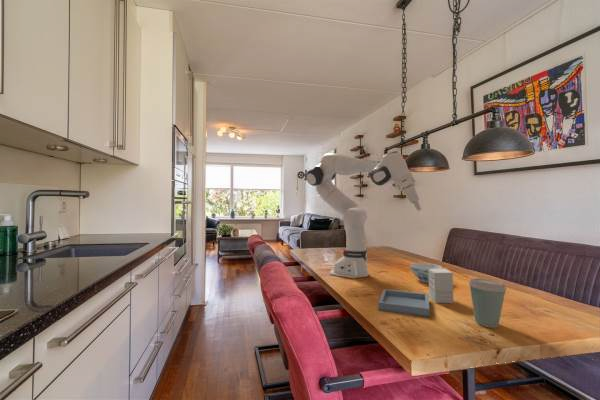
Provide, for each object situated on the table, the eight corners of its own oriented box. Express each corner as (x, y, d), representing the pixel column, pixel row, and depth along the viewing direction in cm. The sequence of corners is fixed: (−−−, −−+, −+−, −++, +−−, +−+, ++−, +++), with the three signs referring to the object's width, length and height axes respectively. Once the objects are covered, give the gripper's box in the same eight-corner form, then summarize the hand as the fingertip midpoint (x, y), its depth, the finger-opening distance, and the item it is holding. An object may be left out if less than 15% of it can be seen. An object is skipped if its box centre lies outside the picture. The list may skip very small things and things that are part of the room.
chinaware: (404, 279, 152) (404, 264, 152) (424, 275, 158) (424, 262, 158) (427, 286, 138) (427, 270, 138) (448, 282, 144) (448, 267, 144)
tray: (378, 310, 108) (378, 302, 108) (383, 295, 125) (383, 289, 125) (429, 317, 101) (429, 308, 101) (428, 300, 118) (427, 293, 118)
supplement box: (446, 297, 122) (445, 268, 122) (453, 303, 114) (453, 272, 115) (428, 297, 123) (428, 268, 123) (435, 303, 115) (434, 272, 115)
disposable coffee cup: (471, 315, 102) (471, 274, 103) (508, 322, 96) (507, 279, 96) (466, 325, 94) (466, 280, 94) (506, 334, 87) (505, 286, 88)
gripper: (398, 184, 143) (411, 208, 142) (398, 186, 123) (413, 214, 123) (410, 179, 140) (423, 203, 140) (412, 180, 121) (427, 208, 120)
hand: (418, 208), depth 131 cm, fingers open, 8 cm apart
